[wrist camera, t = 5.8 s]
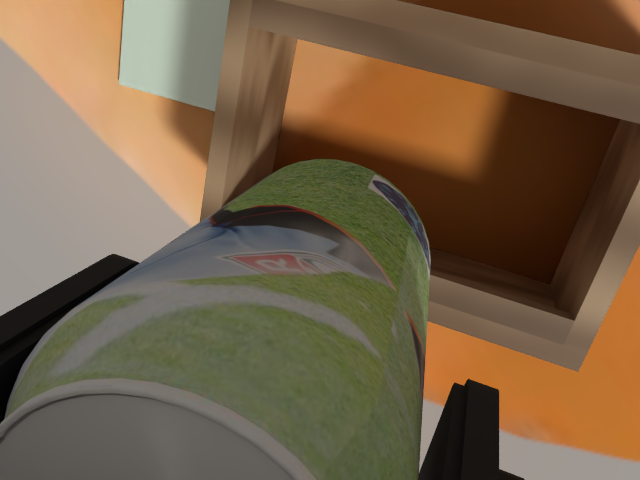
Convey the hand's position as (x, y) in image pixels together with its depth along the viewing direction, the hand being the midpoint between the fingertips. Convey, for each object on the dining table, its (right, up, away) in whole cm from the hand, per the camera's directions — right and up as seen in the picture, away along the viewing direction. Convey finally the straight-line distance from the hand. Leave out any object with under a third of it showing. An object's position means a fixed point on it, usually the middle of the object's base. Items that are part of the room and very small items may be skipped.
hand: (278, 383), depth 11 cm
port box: (+8, +9, +25) cm, 27 cm away
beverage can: (+2, +3, +7) cm, 7 cm away
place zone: (-8, +17, +27) cm, 33 cm away
